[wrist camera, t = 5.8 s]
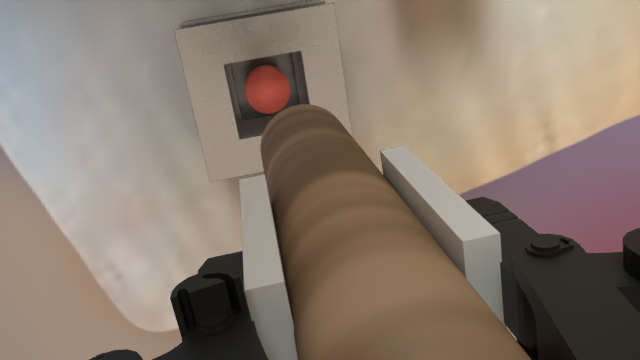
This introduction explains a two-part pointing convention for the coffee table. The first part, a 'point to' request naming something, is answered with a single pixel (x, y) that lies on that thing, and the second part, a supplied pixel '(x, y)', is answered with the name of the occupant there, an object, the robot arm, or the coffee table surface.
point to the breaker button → (267, 89)
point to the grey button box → (245, 55)
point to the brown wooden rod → (364, 256)
